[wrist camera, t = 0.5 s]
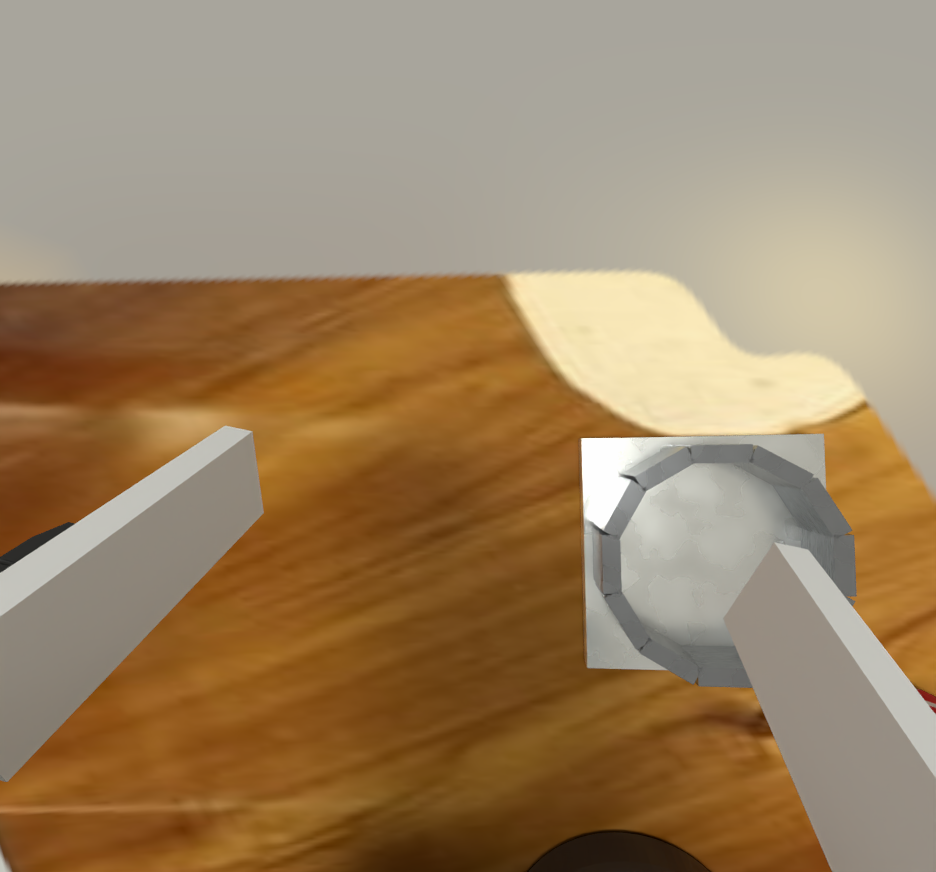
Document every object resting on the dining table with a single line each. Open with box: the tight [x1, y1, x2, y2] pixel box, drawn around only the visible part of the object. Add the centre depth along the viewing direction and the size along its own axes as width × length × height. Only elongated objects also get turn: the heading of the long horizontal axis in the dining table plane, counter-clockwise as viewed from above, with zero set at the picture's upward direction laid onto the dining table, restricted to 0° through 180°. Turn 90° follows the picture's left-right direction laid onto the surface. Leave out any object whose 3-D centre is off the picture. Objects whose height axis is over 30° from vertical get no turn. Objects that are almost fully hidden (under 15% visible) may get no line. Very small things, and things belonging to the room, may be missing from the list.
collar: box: [579, 434, 856, 688], centre depth 24 cm, size 14×14×4 cm
